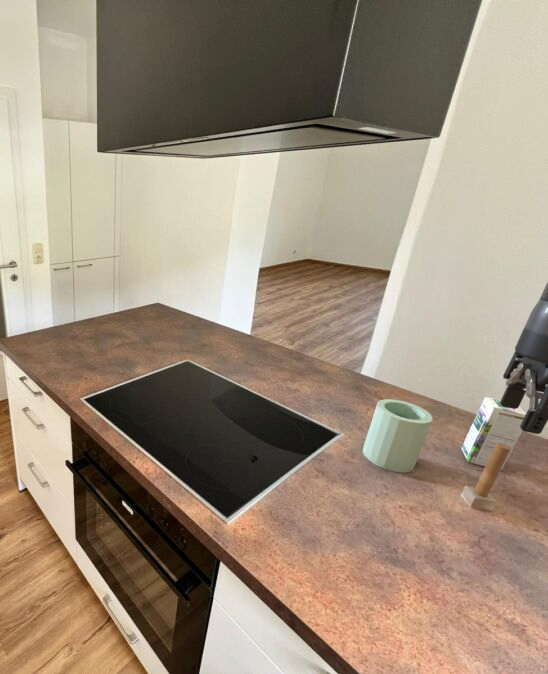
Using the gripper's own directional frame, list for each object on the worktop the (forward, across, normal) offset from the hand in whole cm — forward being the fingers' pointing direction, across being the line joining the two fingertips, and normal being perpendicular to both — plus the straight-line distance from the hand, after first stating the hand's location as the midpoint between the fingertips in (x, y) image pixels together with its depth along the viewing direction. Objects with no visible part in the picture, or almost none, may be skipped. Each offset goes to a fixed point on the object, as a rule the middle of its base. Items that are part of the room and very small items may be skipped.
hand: (518, 418), depth 62 cm
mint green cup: (+21, +10, +12) cm, 26 cm away
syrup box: (+21, +20, -6) cm, 29 cm away
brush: (+21, 0, 0) cm, 21 cm away
